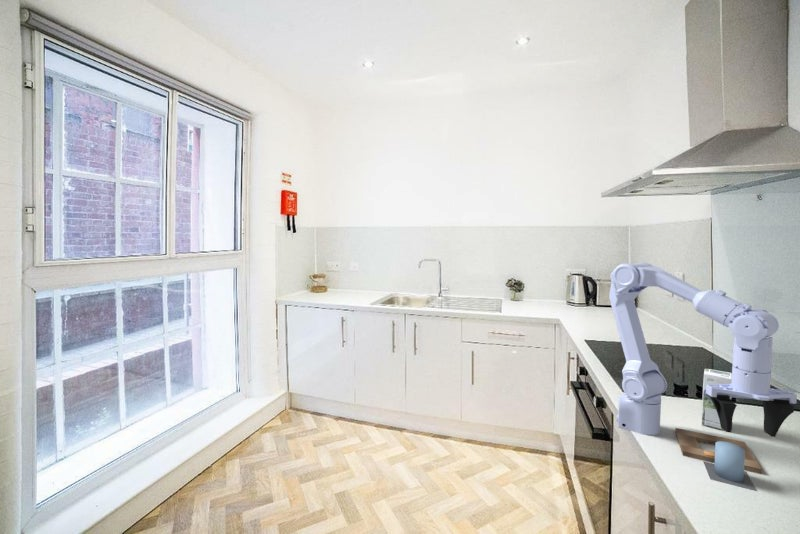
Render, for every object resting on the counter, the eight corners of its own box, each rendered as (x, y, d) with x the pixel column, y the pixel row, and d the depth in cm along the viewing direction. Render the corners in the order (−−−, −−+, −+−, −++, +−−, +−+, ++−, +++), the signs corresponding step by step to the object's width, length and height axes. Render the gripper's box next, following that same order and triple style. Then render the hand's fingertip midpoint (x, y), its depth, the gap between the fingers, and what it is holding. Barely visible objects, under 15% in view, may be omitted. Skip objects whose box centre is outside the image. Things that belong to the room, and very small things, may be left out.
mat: (710, 483, 73) (710, 479, 73) (702, 465, 79) (703, 461, 79) (757, 496, 69) (757, 491, 69) (745, 475, 75) (746, 471, 75)
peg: (716, 477, 73) (718, 449, 73) (711, 466, 77) (713, 439, 77) (746, 485, 71) (748, 456, 71) (739, 472, 75) (741, 445, 75)
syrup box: (729, 424, 97) (732, 371, 96) (729, 432, 92) (732, 378, 92) (701, 417, 101) (704, 367, 100) (701, 425, 96) (703, 372, 95)
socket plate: (682, 459, 81) (683, 450, 81) (675, 435, 91) (675, 427, 91) (761, 478, 75) (761, 468, 74) (743, 450, 85) (744, 441, 85)
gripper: (721, 372, 72) (718, 437, 73) (811, 378, 68) (807, 447, 69) (701, 361, 79) (698, 421, 80) (782, 366, 75) (778, 428, 76)
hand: (747, 432), depth 75 cm, fingers open, 7 cm apart
